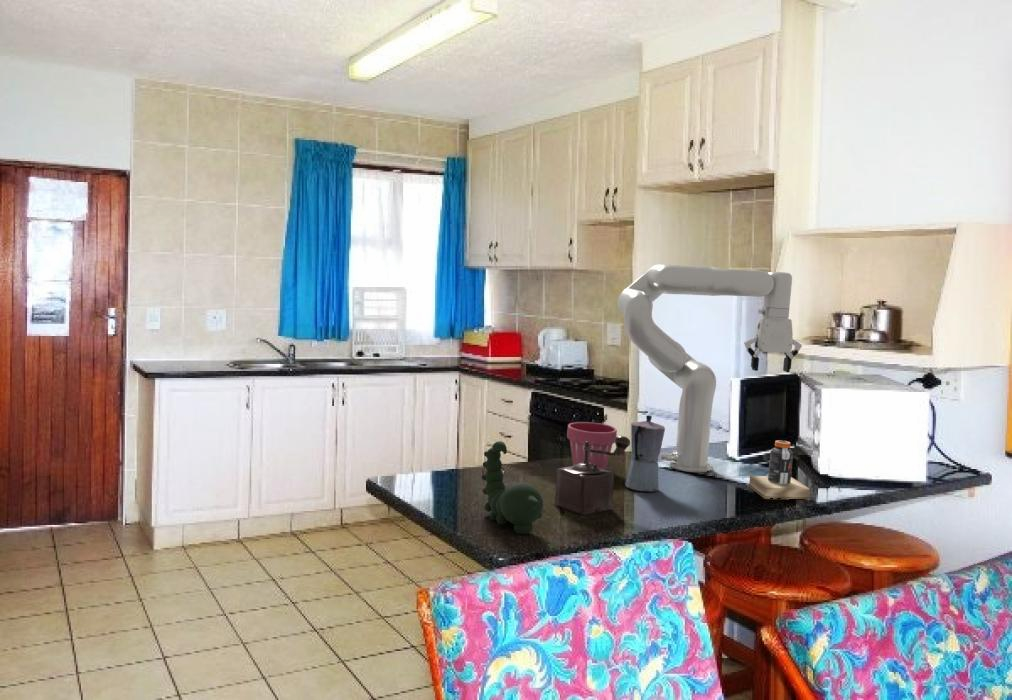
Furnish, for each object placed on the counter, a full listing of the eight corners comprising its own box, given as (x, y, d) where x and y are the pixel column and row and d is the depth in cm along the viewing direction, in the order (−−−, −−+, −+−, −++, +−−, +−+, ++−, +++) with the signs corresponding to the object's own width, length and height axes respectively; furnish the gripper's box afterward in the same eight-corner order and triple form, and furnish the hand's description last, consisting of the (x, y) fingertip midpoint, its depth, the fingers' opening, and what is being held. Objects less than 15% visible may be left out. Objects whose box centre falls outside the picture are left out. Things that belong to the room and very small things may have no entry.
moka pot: (666, 485, 242) (672, 414, 239) (651, 498, 228) (657, 423, 225) (633, 479, 246) (638, 409, 243) (616, 492, 232) (621, 418, 229)
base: (764, 498, 233) (765, 487, 233) (747, 485, 246) (748, 475, 246) (810, 500, 235) (811, 489, 234) (791, 487, 247) (791, 476, 247)
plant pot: (624, 473, 252) (627, 429, 251) (586, 478, 244) (589, 433, 243) (592, 462, 264) (595, 420, 263) (555, 466, 256) (557, 423, 255)
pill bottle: (791, 485, 236) (795, 444, 235) (768, 483, 238) (772, 442, 236) (789, 480, 242) (792, 440, 241) (766, 478, 243) (770, 438, 242)
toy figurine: (471, 518, 209) (517, 543, 186) (472, 439, 208) (519, 454, 186) (507, 515, 213) (556, 539, 190) (508, 437, 212) (558, 452, 190)
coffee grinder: (584, 516, 209) (589, 442, 207) (553, 504, 218) (557, 433, 216) (629, 507, 219) (634, 436, 217) (597, 496, 228) (602, 428, 225)
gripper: (751, 313, 255) (746, 371, 257) (809, 316, 257) (803, 373, 259) (742, 311, 263) (738, 368, 265) (798, 314, 264) (793, 370, 266)
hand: (770, 370), depth 262 cm, fingers open, 9 cm apart
